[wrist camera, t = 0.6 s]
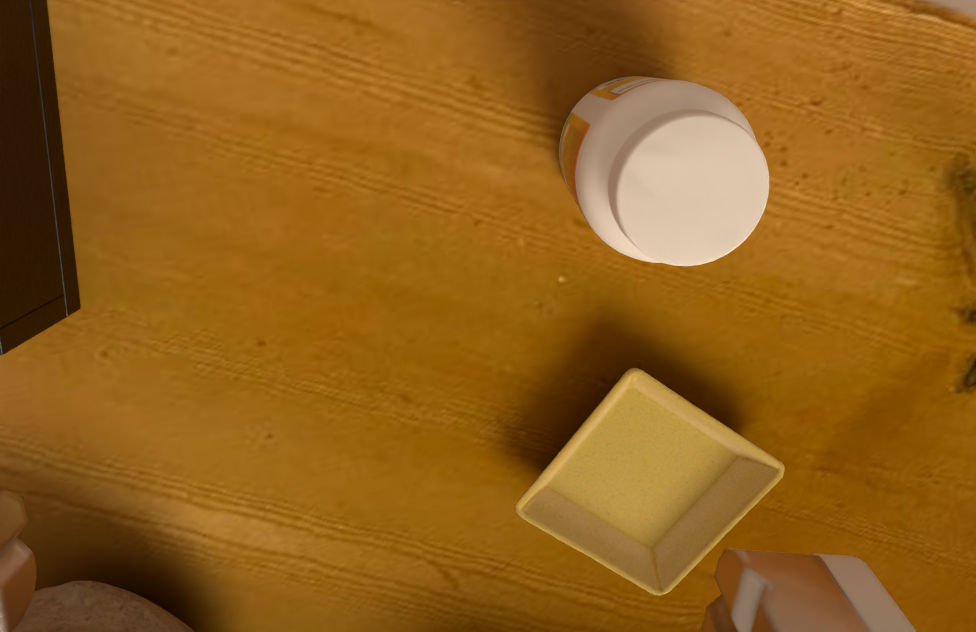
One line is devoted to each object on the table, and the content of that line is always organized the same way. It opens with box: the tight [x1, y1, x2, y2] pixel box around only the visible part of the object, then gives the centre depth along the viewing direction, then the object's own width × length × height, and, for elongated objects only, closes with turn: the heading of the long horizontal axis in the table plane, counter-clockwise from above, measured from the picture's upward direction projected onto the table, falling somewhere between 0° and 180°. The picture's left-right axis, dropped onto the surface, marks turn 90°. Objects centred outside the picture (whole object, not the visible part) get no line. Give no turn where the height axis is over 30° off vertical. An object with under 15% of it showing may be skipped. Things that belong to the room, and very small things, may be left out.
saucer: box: [515, 368, 784, 595], centre depth 31 cm, size 9×9×2 cm
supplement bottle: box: [559, 76, 769, 266], centre depth 22 cm, size 5×5×10 cm
